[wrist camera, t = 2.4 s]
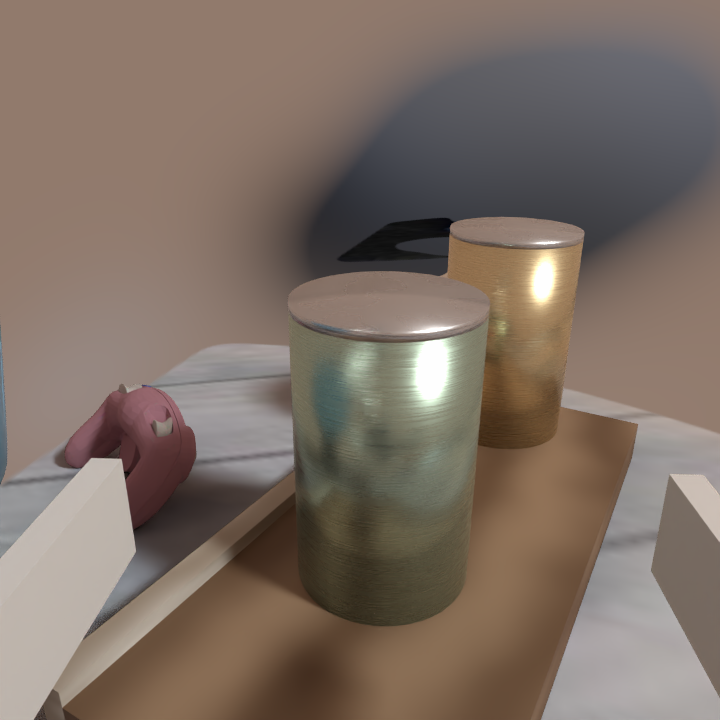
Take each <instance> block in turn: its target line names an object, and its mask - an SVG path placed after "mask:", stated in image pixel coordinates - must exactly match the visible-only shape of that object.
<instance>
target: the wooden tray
mask: <svg viewBox="0 0 720 720" xmlns="http://www.w3.org/2000/svg"><path fill="white" fill-rule="evenodd" d="M637 427H638V424H635V423H631V422H626V421H622V420H617V419H613V418H608V417H604V416H599V415H595V414H590V413H586V412H581V411H577V410H572V409H568V408H563V407H560V414H559V421H558V428H557V432H556V434H555V436H554V437H553V438H552V439H551V440H549V441H548V442H546V443H544V444H541V445H538V446H535V447H530V448H524V449H497V448H489V447H484V446H479V445H478V448H477V460H476V471H475V483H474V494H473V506H472V517H471V529H470V540H469V552H468V563H467V575H466V581H465V584H464V587H463V589H462V591H461V593H460V594H459V596H458V597H457V599H456V600H455V601H454V602H453V603H452V604H451V605H450V606H449V607H447V608H446V609H445V610H443V611H442V612H440V613H438V614H436V615H435V616H433V617H431V618H428V619H425V620H423V621H420V622H416V623H412V624H407V625H401V626H387V627H385V626H371V625H364V624H359V623H355V622H351V621H348V620H345V619H343V618H340V617H338V616H336V615H334V614H332V613H330V612H328V611H327V610H325V609H324V608H322V607H321V606H319V605H318V604H317V603H316V602H315V601H314V600H313V599H312V598H311V597H310V596H309V594H308V593H307V592H306V590H305V588H304V587H303V585H302V582H301V580H300V576H299V570H298V546H297V521H296V495H295V470H294V471H293V472H292V473H291V474H289V475H288V476H287V477H286V478H284V479H283V480H282V481H281V482H279V483H278V484H277V485H276V486H274V487H273V488H272V489H271V490H269V491H268V492H267V493H266V494H265V495H263V496H262V497H261V498H260V499H258V500H257V501H256V502H255V503H253V504H252V505H251V506H250V507H248V508H247V509H246V510H245V511H243V512H242V513H241V514H240V515H238V516H237V517H236V518H235V519H233V520H232V521H231V522H230V523H228V524H227V525H226V526H225V527H223V528H222V529H221V530H220V531H218V532H217V533H216V534H215V535H213V536H212V537H211V538H210V539H208V540H207V541H206V542H205V543H203V544H202V545H201V546H200V547H199V548H197V549H196V550H195V551H194V552H192V553H191V554H190V555H189V556H187V557H186V558H185V559H184V560H182V561H181V562H180V563H179V564H177V565H176V566H175V567H174V568H172V569H171V570H170V571H169V572H167V573H166V574H165V575H164V576H162V577H161V578H160V579H159V580H157V581H156V582H155V583H154V584H152V585H151V586H150V587H149V588H147V589H146V590H145V591H144V592H142V593H141V594H140V595H139V596H137V597H136V598H135V599H134V600H133V601H131V602H130V603H129V604H128V605H126V606H125V607H124V608H123V609H121V610H120V611H119V612H118V613H116V614H115V615H114V616H113V617H111V618H110V619H109V620H108V621H106V622H105V623H104V624H103V625H101V626H100V627H99V628H98V629H96V630H95V631H94V632H93V633H91V634H90V635H89V636H88V637H86V638H85V639H84V640H83V641H81V643H80V644H79V646H78V648H77V649H76V651H75V653H74V654H73V656H72V658H71V659H70V661H69V663H68V664H67V666H66V667H65V669H64V671H63V672H62V674H61V676H60V677H59V679H58V681H57V682H56V684H55V685H54V687H53V689H52V690H51V692H50V694H49V695H48V697H47V699H46V700H45V702H44V703H43V708H44V712H45V716H46V720H541V717H542V715H543V712H544V709H545V706H546V703H547V700H548V697H549V694H550V692H551V689H552V686H553V683H554V680H555V677H556V674H557V671H558V669H559V666H560V663H561V660H562V657H563V654H564V651H565V648H566V646H567V643H568V640H569V637H570V634H571V631H572V628H573V625H574V623H575V620H576V617H577V614H578V611H579V608H580V605H581V602H582V600H583V597H584V594H585V591H586V588H587V585H588V582H589V579H590V576H591V574H592V571H593V568H594V565H595V562H596V559H597V556H598V553H599V551H600V548H601V545H602V542H603V539H604V536H605V533H606V530H607V528H608V525H609V522H610V519H611V516H612V513H613V510H614V507H615V505H616V502H617V499H618V496H619V493H620V490H621V487H622V484H623V482H624V479H625V476H626V473H627V470H628V467H629V464H630V461H631V459H632V454H633V449H634V443H635V438H636V433H637Z"/></svg>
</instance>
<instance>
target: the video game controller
mask: <svg viewBox="0 0 720 720" xmlns="http://www.w3.org/2000/svg"><path fill="white" fill-rule="evenodd" d="M120 445H121V448H120V454H119V459H122V464H123V471H125V472H131V473H130V475H129V476H128V477H127V479H126V480H125V483H126V490H127V496H128V502H129V509H130V515H131V522H132V528H133V529H135V528H137V527H139V526H141V525H142V524H143V523H145V522H146V521H147V520H149V519H150V518H151V517H153V516H154V515H155V514H156V513H157V511H158V510H159V509H160V508H161V507H162V506H163V505H164V504H165V502H166V501H167V500H168V499H169V497H170V496H171V495H172V494H173V492H174V491H175V489H176V488H177V486H178V485H179V484H180V483H182V482H183V481H184V480H185V479H186V478H187V477H188V475H189V473H190V471H191V469H192V466H193V463H194V461H195V459H196V442H195V435H194V433H193V431H192V429H191V428H190V427H188V426H186V425H185V423H184V420H183V417H182V415H181V412H180V410H179V408H178V407H177V405H176V404H175V402H174V401H173V400H172V398H171V397H170V396H168V395H167V394H166V393H165V392H163V391H161V390H159V389H156V388H152V387H151V386H147V385H139V384H137V385H133V386H131V387H129V388H128V387H127V386H125V385H124V384H121V385H120V386H119V390H118V391H114V392H112V393H111V394H110V395H109V396H108V397H107V398H106V400H105V401H104V402H103V404H102V405H101V407H100V408H99V409H98V410H97V411H96V413H95V414H94V415H93V416H92V417H91V418H90V419H89V420H88V421H87V422H85V423H84V424H83V426H81V427H80V428H79V429H78V430H77V431H76V433H75V434H74V435H73V436H72V437H71V438H70V440H69V442H68V444H67V446H66V449H65V460H66V462H67V463H68V464H69V465H70V466H72V467H75V468H82V467H84V466H85V465H86V463H87V462H88V461H89V460H90V459H91V458H104V457H106V456H108V455H109V454H110V453H111V452H113V451H114V450H115V449H116V448H118V447H119V446H120Z"/></svg>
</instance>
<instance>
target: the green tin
mask: <svg viewBox="0 0 720 720" xmlns="http://www.w3.org/2000/svg"><path fill="white" fill-rule="evenodd" d="M489 310H490V300H489V298H488V296H487V295H486V294H485V293H484V292H482V291H481V290H479V289H477V288H476V287H474V286H471V285H469V284H467V283H464V282H461V281H457V280H454V279H450V278H445V277H440V276H434V275H428V274H420V273H409V272H391V271H390V272H386V271H377V272H375V271H374V272H356V273H346V274H340V275H333V276H328V277H323V278H320V279H316V280H312V281H310V282H307V283H304V284H302V285H300V286H298V287H297V288H295V289H294V290H293V291H292V292H291V293H290V295H289V296H288V316H289V342H290V368H291V393H292V419H293V444H294V470H295V495H296V521H297V546H298V570H299V576H300V580H301V582H302V585H303V587H304V588H305V590H306V592H307V593H308V594H309V596H310V597H311V598H312V599H313V600H314V601H315V602H316V603H317V604H318V605H319V606H321V607H322V608H324V609H325V610H327V611H328V612H330V613H332V614H334V615H336V616H338V617H340V618H343V619H345V620H348V621H351V622H355V623H359V624H364V625H371V626H385V627H387V626H401V625H407V624H412V623H416V622H420V621H423V620H425V619H428V618H431V617H433V616H435V615H436V614H438V613H440V612H442V611H443V610H445V609H446V608H447V607H449V606H450V605H451V604H452V603H453V602H454V601H455V600H456V599H457V597H458V596H459V594H460V593H461V591H462V589H463V587H464V584H465V581H466V575H467V563H468V552H469V540H470V529H471V517H472V506H473V494H474V483H475V471H476V460H477V448H478V437H479V425H480V414H481V402H482V391H483V379H484V368H485V356H486V345H487V333H488V321H489Z"/></svg>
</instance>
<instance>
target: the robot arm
mask: <svg viewBox="0 0 720 720" xmlns="http://www.w3.org/2000/svg"><path fill="white" fill-rule="evenodd" d="M6 466H7V431H6V410H5V392H4V375H3V359H2V343H1V327H0V484H1V482H2V479H3V477H4V474H5V470H6ZM135 553H136V547H135V541H134V534H133V528H132V522H131V515H130V509H129V502H128V496H127V490H126V483H125V477H124V471H123V464H122V459H108V458H91V459H90V460H89V461H88V462H87V463H86V465H85V466H84V467H83V468H82V469H81V470H80V471H79V472H78V473H77V474H76V476H75V477H74V478H73V479H72V480H71V481H70V482H69V483H68V484H67V486H66V487H65V488H64V489H63V490H62V491H61V492H60V493H59V494H58V495H57V497H56V498H55V499H54V500H53V501H52V502H51V503H50V504H49V505H48V507H47V508H46V509H45V510H44V511H43V512H42V513H41V514H40V515H39V516H38V518H37V519H36V520H35V521H34V522H33V523H32V524H31V525H30V526H29V528H28V529H27V530H26V531H25V532H24V533H23V534H22V535H21V536H20V537H19V539H18V540H17V541H16V542H15V543H14V544H13V545H12V546H11V547H10V549H9V550H8V551H7V552H6V553H5V554H4V555H3V556H2V557H1V558H0V720H34V718H35V717H36V715H37V713H38V712H39V710H40V708H41V707H42V705H43V703H44V702H45V700H46V699H47V697H48V695H49V694H50V692H51V690H52V689H53V687H54V685H55V684H56V682H57V681H58V679H59V677H60V676H61V674H62V672H63V671H64V669H65V667H66V666H67V664H68V663H69V661H70V659H71V658H72V656H73V654H74V653H75V651H76V649H77V648H78V646H79V644H80V643H81V641H82V640H83V638H84V636H85V635H86V633H87V631H88V630H89V628H90V626H91V625H92V623H93V622H94V620H95V618H96V617H97V615H98V613H99V612H100V610H101V608H102V607H103V605H104V603H105V602H106V600H107V599H108V597H109V595H110V594H111V592H112V590H113V589H114V587H115V585H116V584H117V582H118V581H119V579H120V577H121V576H122V574H123V572H124V571H125V569H126V567H127V566H128V564H129V563H130V561H131V559H132V558H133V556H134V554H135ZM651 571H652V573H653V575H654V577H655V579H656V581H657V583H658V584H659V586H660V588H661V590H662V592H663V594H664V595H665V597H666V599H667V601H668V603H669V605H670V607H671V608H672V610H673V612H674V614H675V616H676V618H677V620H678V621H679V623H680V625H681V627H682V629H683V631H684V632H685V634H686V636H687V638H688V640H689V642H690V644H691V645H692V647H693V649H694V651H695V653H696V655H697V657H698V658H699V660H700V662H701V664H702V666H703V668H704V669H705V671H706V673H707V675H708V677H709V679H710V681H711V682H712V684H713V686H714V688H715V690H716V692H717V694H718V695H719V697H720V495H719V494H718V492H717V491H716V490H715V489H714V487H713V486H712V485H711V484H710V483H709V481H708V480H707V479H706V478H705V477H704V475H681V474H669V479H668V485H667V490H666V495H665V500H664V505H663V511H662V516H661V521H660V526H659V531H658V537H657V542H656V547H655V552H654V557H653V563H652V568H651Z"/></svg>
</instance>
